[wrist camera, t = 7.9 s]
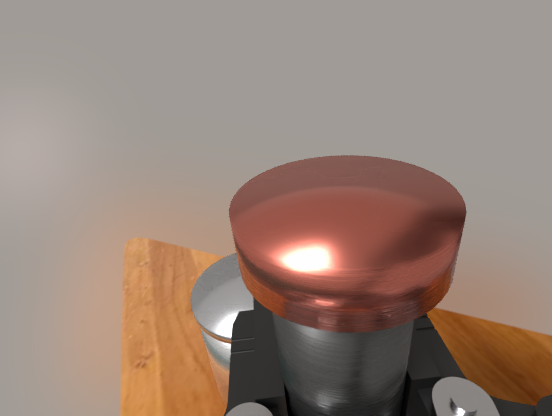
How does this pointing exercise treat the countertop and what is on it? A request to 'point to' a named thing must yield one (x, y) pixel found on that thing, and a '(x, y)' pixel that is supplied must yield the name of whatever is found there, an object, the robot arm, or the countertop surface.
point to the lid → (346, 273)
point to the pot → (220, 313)
